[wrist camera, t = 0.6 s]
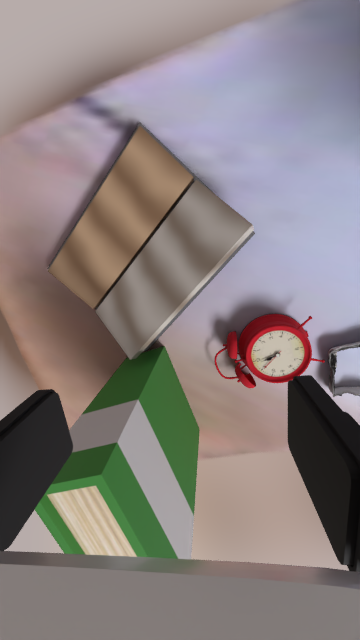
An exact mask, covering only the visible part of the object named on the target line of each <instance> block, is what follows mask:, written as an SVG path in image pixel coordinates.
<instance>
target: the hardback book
mask: <svg viewBox="0 0 360 640" xmlns="http://www.w3.org/2000/svg"><path fill="white" fill-rule="evenodd" d="M69 432H70V435H71V439H72V442H73V451H72V453H71V455H70V457H69V458H68V460H67V461H66V463H65V464H64V466H63V467H62V469H61V470H60V472H59V473H58V475H57V476H56V478H55V479H54V481H53V482H52V484H51V485H50V487H49V488H48V490H47V491H46V493H45V494H44V496H43V497H42V499H41V500H40V502H39V503H38V505H37V506H36V508H35V511H36V512H37V514H38V515H39V516H40V518H41V519H42V521H43V522H44V524H45V525H46V527H47V528H48V530H49V531H50V533H51V534H52V536H53V537H54V539H55V540H56V541H57V543H58V544H59V546H60V547H61V549H62V550H63V552H64V553H65V554H86V555H108V556H131V557H152V558H172V559H191V552H192V537H193V521H194V506H195V491H196V475H197V460H198V444H199V427H198V425H197V422H196V420H195V417H194V415H193V413H192V410H191V408H190V406H189V403H188V401H187V398H186V396H185V394H184V391H183V389H182V387H181V384H180V382H179V379H178V377H177V375H176V372H175V370H174V368H173V365H172V363H171V360H170V358H169V356H168V353H167V351H166V349H165V346H163V347H160V348H157V349H153V350H150V351H147V352H144V353H141V354H140V355H139V356H138V357H137V358H136V359H132V360H130V359H129V357H128V358H126V359H125V360H124V362H123V363H122V364H121V365H120V367H119V368H118V369H117V370H116V372H115V373H114V374H113V376H112V377H111V378H110V379H109V381H108V382H107V383H106V384H105V386H104V387H103V388H102V389H101V391H100V392H99V393H98V395H97V396H96V397H95V398H94V400H93V401H92V402H91V403H90V405H89V406H88V407H87V408H86V410H85V411H84V412H83V413H82V415H81V416H80V417H79V419H78V420H77V421H76V422H75V424H74V425H73V426H72V427H71V429H70V430H69Z"/></svg>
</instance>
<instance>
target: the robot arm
mask: <svg viewBox="0 0 360 640" xmlns="http://www.w3.org/2000/svg"><path fill="white" fill-rule="evenodd" d="M288 444H289V448H290V451H291V454H292V456H293V458H294V461H295V463H296V465H297V467H298V470H299V472H300V474H301V476H302V479H303V481H304V483H305V486H306V488H307V490H308V493H309V495H310V497H311V499H312V502H313V504H314V506H315V509H316V511H317V513H318V516H319V518H320V520H321V522H322V525H323V527H324V529H325V532H326V534H327V536H328V538H329V541H330V543H331V545H332V548H333V550H334V552H335V554H336V557H337V559H338V561H339V562H340V563H341V564H342V565H347V566H348V568H349V571H346V570H338V569H329V568H320V567H306V566H292V565H278V564H263V563H250V562H231V561H211V560H192V559H172V558H152V557H131V556H108V555H86V554H63V553H62V554H61V553H39V552H12V551H4V550H5V549H7V548H8V547H9V546H10V545H11V544H12V542H13V541H14V539H15V538H16V536H17V535H18V533H19V532H20V530H21V529H22V527H23V526H24V524H25V523H26V521H27V520H28V518H29V517H30V515H31V514H32V512H33V511H34V509H35V508H36V506H37V505H38V503H39V502H40V500H41V499H42V497H43V496H44V494H45V493H46V491H47V490H48V488H49V487H50V485H51V484H52V482H53V481H54V479H55V478H56V476H57V475H58V473H59V472H60V470H61V469H62V467H63V466H64V464H65V463H66V461H67V460H68V458H69V457H70V455H71V453H72V451H73V442H72V439H71V435H70V432H69V429H68V425H67V422H66V418H65V415H64V411H63V408H62V404H61V401H60V398H59V395H58V394H57V393H56V392H55V391H54V390H52V389H50V390H38V391H36V392H35V393H34V394H32V395H31V396H30V397H29V398H27V399H26V400H25V401H24V402H23V403H21V404H20V405H19V406H18V407H16V408H15V409H14V410H13V411H12V412H10V413H9V414H8V415H7V416H6V417H4V418H3V419H2V420H1V421H0V640H360V425H359V424H358V423H357V422H356V421H355V420H354V419H353V418H352V417H351V416H350V415H349V414H348V413H347V412H343V411H342V410H341V409H340V408H339V407H338V405H337V404H336V403H335V402H334V401H333V400H332V399H331V397H330V396H329V395H328V394H327V393H326V392H325V391H324V389H323V388H322V387H321V386H320V385H319V384H318V383H317V381H316V380H315V379H314V378H313V377H312V376H310V375H307V376H294V377H293V380H289V381H288Z"/></svg>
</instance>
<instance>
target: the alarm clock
mask: <svg viewBox="0 0 360 640" xmlns="http://www.w3.org/2000/svg"><path fill="white" fill-rule="evenodd" d="M310 319H312V317H311V316H309V319H307V320H306V321H305V322H304V323H302V324H301V325H300V324H299V323H298V322H297V321H295V320H294V319H292V318H290V317H288V316H285V315H281V314H268V315H264V316H261V317H258V318H256V319H255V320H253V321H252V322H250V323H249V324H248V325H247V326H246V327H245V329H244V330H243V332H242V334H241V336H240V339H239V353H237V335H236V331H233V332H230V333H229V334H228V336H227V344H223V346H226V347H225V348H224V349H222V350H220V351H219V352H218V353H217V354H216V356H215V365H216V368H217V370H218V372H219V374H220V375H221V376H222V377H224V378H226V379H234V378H238V379H239V380H238V381H237V382H240V381H241V382H242V384H243V385H244V386H246V387H248V388H254V387H255V386H256V383H255V381H254V379H253V377H252V376H251V374H250V373H249V374H247V375H245V374H243V373H242V371H241V369H242V368H244V367H245V366H247V367H248V368H249V370H250V371H251V372H252V373H253V374H254V375H256V376H257V377H258V378H260V379H262V380H264V381H267V382H271V383H283V382H288V381H289V380H293V377H294V376H300V375H301V374H302V373H303V372H304V371H305V370H306V369H307V367H308V365H309V363H310V361H311V360H312V361H320V362H322V363H324V362H325V360H317V359H313V358H311V356H312V350H311V345H310V342H309V340H308V338H307V337H309V336H308V333H307V331H306V332H305V330H304V329H303V327H302V326H303V325H305V323H306V322H308V321H309V320H310ZM225 349H227V352H228V355H229V357H230V358H232V359H237V354H240V357H241V359H240V360H235V363H237V362H238V361H243V362H244V363H245V365H244V366H243V367H242V368H241V369H240V365H241V364H240V363H239V364H238V365H237V366H236V367H235V372H236V375H237V377H225V376H223V375H222V374H221V372H220V371H219V369H218V366H217V363H216V358H217V355H218V354H219V353H220V352H222V351H224V350H225Z"/></svg>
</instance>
